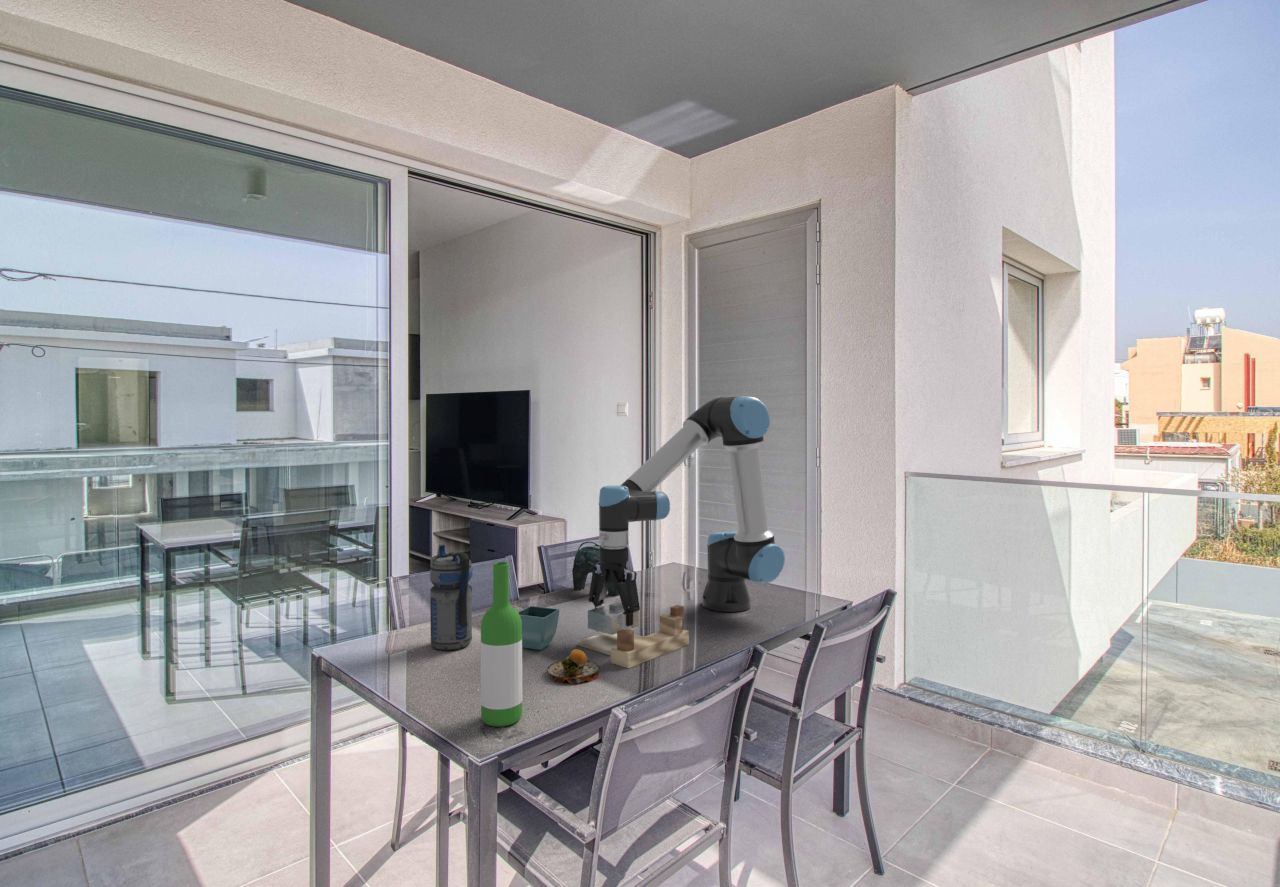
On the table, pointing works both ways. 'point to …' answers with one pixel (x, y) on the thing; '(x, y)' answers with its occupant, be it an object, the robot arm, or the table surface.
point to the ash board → (602, 642)
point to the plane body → (651, 640)
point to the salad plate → (574, 669)
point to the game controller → (587, 567)
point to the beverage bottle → (450, 600)
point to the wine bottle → (501, 655)
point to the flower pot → (538, 626)
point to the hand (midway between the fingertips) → (613, 634)
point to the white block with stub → (609, 618)
